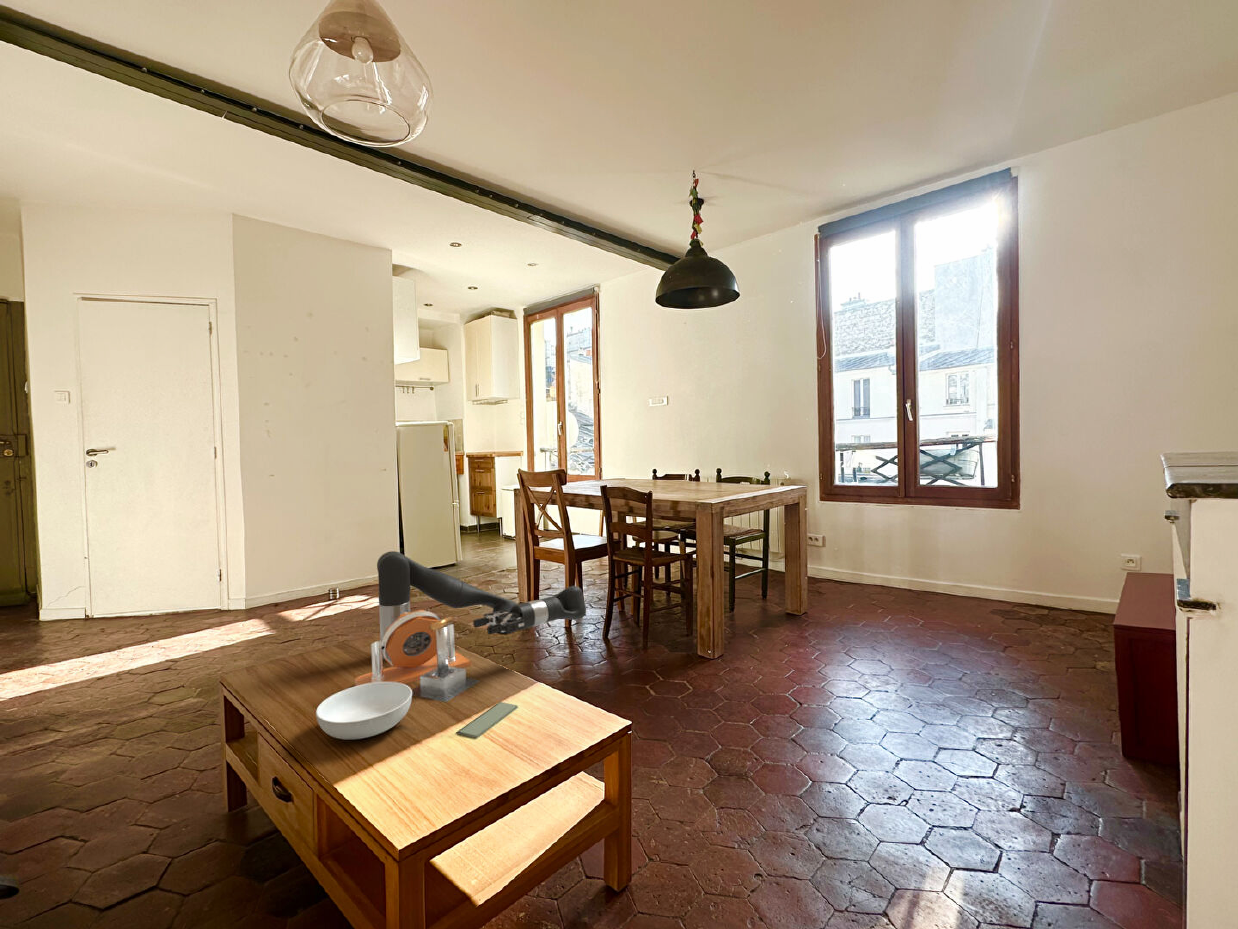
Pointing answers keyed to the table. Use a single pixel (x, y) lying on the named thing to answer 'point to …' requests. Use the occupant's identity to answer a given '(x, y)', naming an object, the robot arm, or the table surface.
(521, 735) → the table surface
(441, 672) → the cylinder
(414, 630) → the desk clock
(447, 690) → the chuck block
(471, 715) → the table surface
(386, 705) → the serving bowl
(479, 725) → the rubber mat
